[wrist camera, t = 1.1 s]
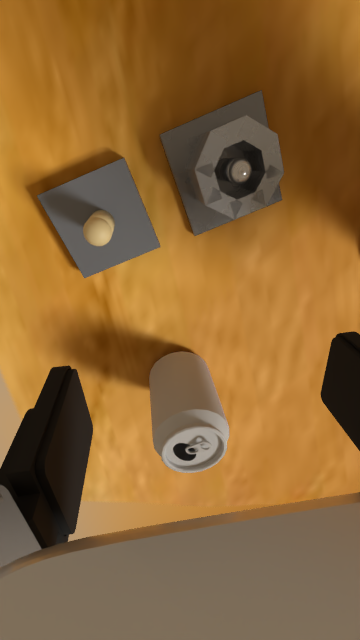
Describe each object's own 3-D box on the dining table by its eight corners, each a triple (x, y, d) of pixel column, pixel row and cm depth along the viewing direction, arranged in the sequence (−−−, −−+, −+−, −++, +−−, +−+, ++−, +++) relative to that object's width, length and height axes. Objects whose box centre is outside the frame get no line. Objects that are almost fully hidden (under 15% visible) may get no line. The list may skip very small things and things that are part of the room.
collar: (251, 112, 25) (272, 104, 21) (267, 192, 28) (288, 197, 24) (178, 144, 25) (185, 141, 22) (202, 219, 29) (212, 228, 25)
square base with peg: (124, 157, 26) (121, 157, 20) (159, 243, 30) (164, 262, 24) (41, 194, 27) (16, 202, 21) (86, 273, 30) (75, 299, 25)
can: (136, 368, 37) (137, 451, 26) (187, 336, 36) (209, 410, 25) (170, 403, 40) (182, 489, 30) (217, 375, 39) (248, 455, 28)
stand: (257, 92, 25) (290, 73, 20) (278, 198, 30) (309, 207, 24) (159, 135, 26) (165, 128, 20) (193, 234, 30) (205, 249, 25)
